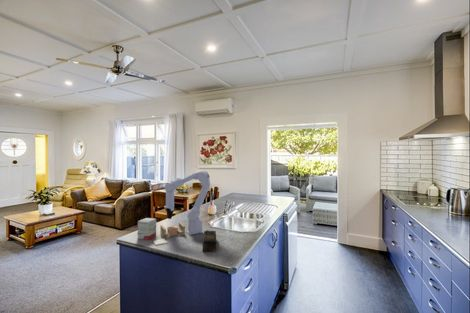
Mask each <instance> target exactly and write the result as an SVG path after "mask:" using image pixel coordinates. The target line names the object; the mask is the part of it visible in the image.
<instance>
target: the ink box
mask: <svg viewBox="0 0 470 313" xmlns="http://www.w3.org/2000/svg"><path fill="white" fill-rule="evenodd" d="M155 237H157V218H151V217H145V218H143V219H142V218H141V219H140V220H137V239H138V240H144V241H150V240H152V239H153V238H155Z"/></svg>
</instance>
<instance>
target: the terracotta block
mask: <svg viewBox="0 0 470 313" xmlns="http://www.w3.org/2000/svg"><path fill="white" fill-rule="evenodd" d="M178 227H179V226H177V225H175V226H174V225H173V226H172V225H171V226H168V227H167V229H166V230H167V232H168V233H169V234H170V237H172V236H179V235H178Z"/></svg>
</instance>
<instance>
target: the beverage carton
mask: <svg viewBox="0 0 470 313" xmlns="http://www.w3.org/2000/svg"><path fill="white" fill-rule="evenodd" d="M203 231H204V232H203V238H202V253H203V252H204V253H205V252H206V253H207V252H208V253H209V252H210V253H212V252H214V253H215V252H217V231H216V230H203Z"/></svg>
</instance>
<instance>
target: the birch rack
mask: <svg viewBox="0 0 470 313" xmlns="http://www.w3.org/2000/svg"><path fill="white" fill-rule="evenodd" d="M177 227H178V235H177V236H179V237H182V236H185V235H186V225H185V224H183V223H182V222H180V221H179V222H178V226H177ZM159 232H160V235H161V237H162V239H165V240H166V239H169V238H170V237H171V236H170V234H169V233H168V232H167V229H166V228H165V226H164V225H163V224H160V231H159Z"/></svg>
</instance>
